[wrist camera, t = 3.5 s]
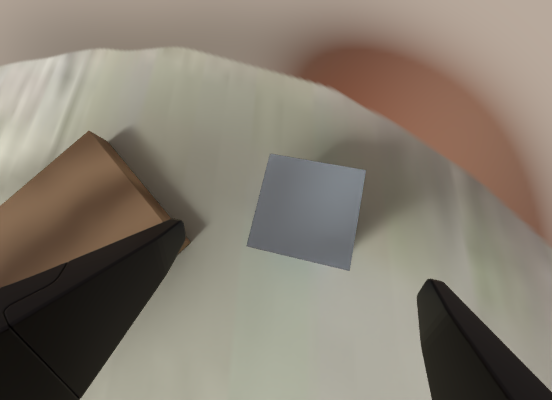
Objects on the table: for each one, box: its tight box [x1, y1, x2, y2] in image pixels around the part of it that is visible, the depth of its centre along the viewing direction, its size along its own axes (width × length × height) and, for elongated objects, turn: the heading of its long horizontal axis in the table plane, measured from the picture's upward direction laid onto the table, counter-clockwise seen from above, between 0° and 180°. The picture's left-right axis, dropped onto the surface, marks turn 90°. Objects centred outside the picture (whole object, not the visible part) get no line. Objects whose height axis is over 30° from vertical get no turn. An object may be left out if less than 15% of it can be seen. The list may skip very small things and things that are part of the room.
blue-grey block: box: [247, 154, 366, 271], centre depth 15 cm, size 5×5×7 cm
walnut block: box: [0, 131, 191, 287], centre depth 19 cm, size 13×13×2 cm
